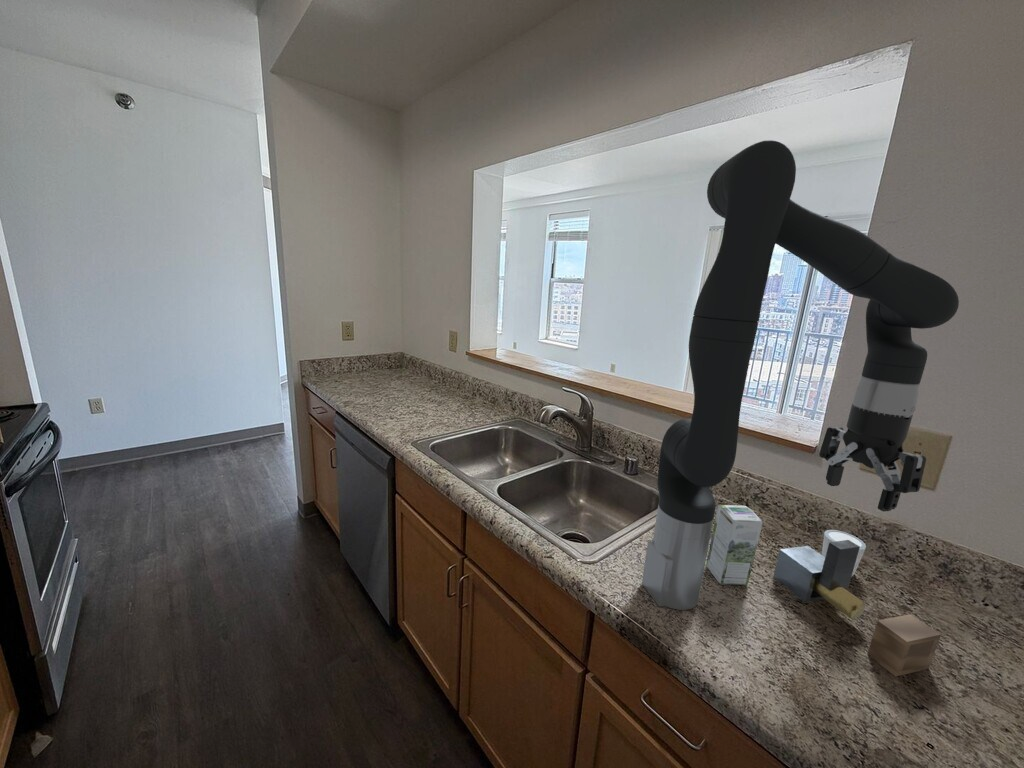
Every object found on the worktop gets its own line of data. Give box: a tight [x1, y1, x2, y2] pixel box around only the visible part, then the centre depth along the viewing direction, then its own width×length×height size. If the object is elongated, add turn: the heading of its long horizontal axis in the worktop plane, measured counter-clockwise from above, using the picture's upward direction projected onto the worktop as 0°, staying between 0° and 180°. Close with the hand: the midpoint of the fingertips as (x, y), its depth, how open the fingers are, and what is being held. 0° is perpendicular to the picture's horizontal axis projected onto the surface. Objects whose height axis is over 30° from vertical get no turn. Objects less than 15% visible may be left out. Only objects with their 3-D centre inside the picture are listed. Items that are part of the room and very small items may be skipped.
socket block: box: [866, 614, 942, 677], centre depth 64 cm, size 4×7×6 cm, turn 104°
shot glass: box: [821, 529, 867, 578], centre depth 86 cm, size 7×7×7 cm
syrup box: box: [705, 504, 764, 586], centre depth 80 cm, size 6×6×14 cm
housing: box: [773, 545, 826, 604], centre depth 79 cm, size 7×7×6 cm
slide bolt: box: [813, 540, 866, 620], centre depth 76 cm, size 13×4×12 cm, turn 14°
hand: (857, 496), depth 70 cm, fingers open, 8 cm apart
